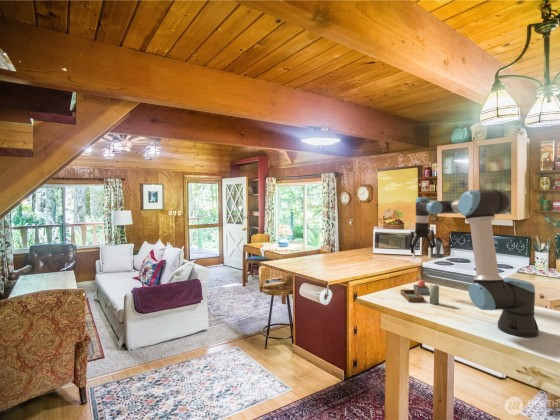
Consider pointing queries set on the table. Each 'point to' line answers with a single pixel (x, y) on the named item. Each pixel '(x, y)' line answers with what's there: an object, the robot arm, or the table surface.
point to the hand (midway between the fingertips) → (421, 258)
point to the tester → (421, 289)
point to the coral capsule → (421, 283)
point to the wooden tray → (412, 296)
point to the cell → (434, 294)
